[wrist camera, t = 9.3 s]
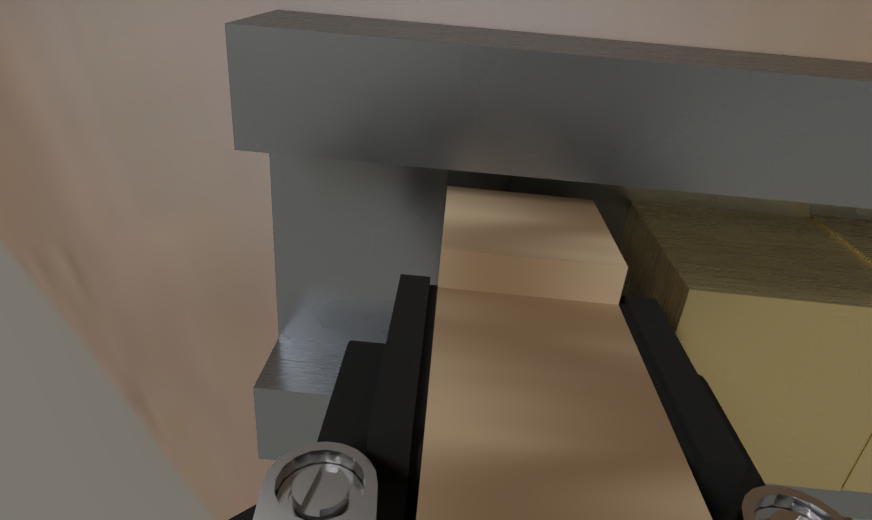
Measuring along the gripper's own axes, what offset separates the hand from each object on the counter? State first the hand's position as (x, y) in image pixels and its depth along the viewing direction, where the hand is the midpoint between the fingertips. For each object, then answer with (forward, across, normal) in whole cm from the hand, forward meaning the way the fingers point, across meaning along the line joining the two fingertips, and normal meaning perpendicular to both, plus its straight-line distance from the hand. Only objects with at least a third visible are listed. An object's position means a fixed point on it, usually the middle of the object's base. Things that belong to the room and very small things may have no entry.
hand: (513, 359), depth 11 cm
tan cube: (+4, -5, 0) cm, 6 cm away
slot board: (+5, -2, 0) cm, 5 cm away
